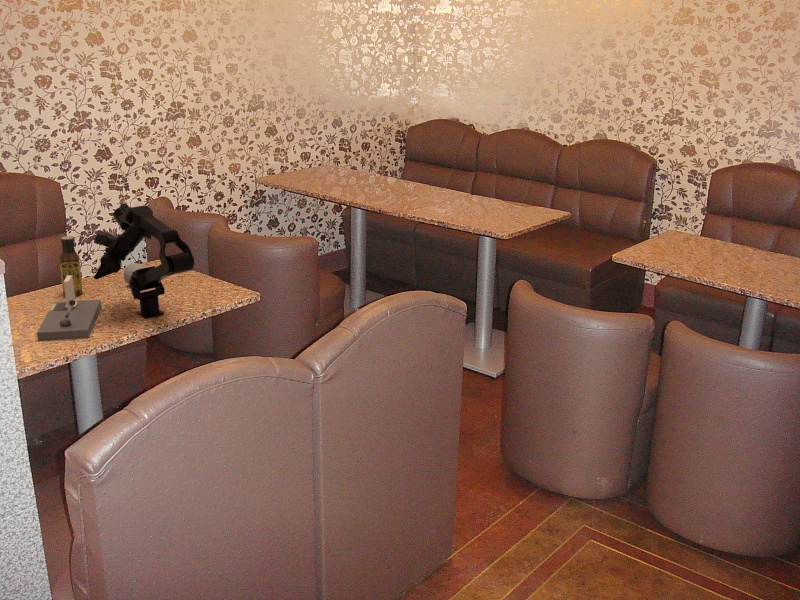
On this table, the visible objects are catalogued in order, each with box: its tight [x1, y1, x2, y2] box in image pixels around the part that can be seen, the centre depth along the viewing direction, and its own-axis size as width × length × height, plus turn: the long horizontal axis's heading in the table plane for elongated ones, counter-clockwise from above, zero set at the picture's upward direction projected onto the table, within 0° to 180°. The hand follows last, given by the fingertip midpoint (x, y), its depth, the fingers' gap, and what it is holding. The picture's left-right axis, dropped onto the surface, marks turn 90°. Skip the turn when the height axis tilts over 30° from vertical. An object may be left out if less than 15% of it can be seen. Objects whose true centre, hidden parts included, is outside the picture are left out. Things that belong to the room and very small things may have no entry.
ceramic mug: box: [123, 262, 147, 285], centre depth 277 cm, size 11×8×8 cm
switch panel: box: [36, 299, 102, 341], centre depth 243 cm, size 14×26×4 cm, turn 12°
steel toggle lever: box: [65, 300, 75, 318], centre depth 234 cm, size 2×2×6 cm
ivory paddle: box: [64, 275, 78, 309], centre depth 248 cm, size 3×6×9 cm, turn 12°
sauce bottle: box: [59, 235, 83, 297], centre depth 264 cm, size 6×6×20 cm
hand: (96, 274), depth 248 cm, fingers open, 7 cm apart
